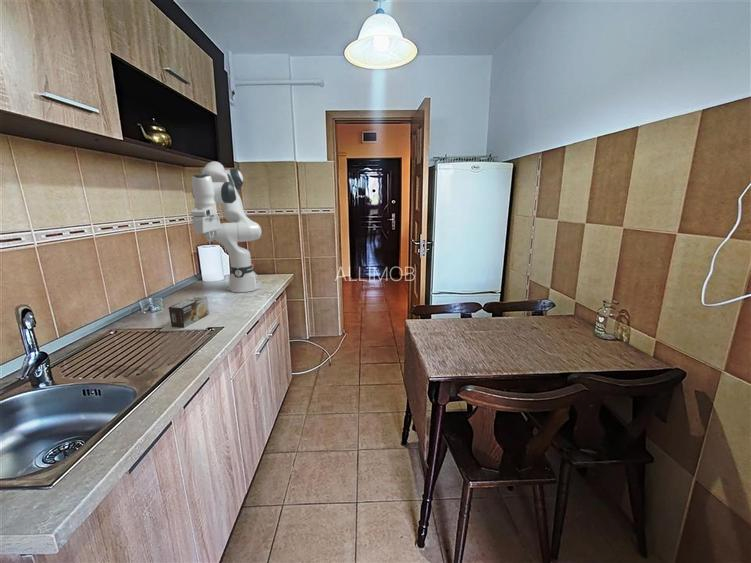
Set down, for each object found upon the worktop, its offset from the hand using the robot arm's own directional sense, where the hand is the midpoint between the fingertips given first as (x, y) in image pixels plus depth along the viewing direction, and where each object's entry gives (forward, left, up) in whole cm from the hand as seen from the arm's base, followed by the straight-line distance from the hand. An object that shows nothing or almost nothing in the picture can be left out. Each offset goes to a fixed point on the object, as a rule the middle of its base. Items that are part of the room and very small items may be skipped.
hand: (210, 241), depth 157 cm
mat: (+20, -4, -33) cm, 39 cm away
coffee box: (+10, -3, -28) cm, 30 cm away
